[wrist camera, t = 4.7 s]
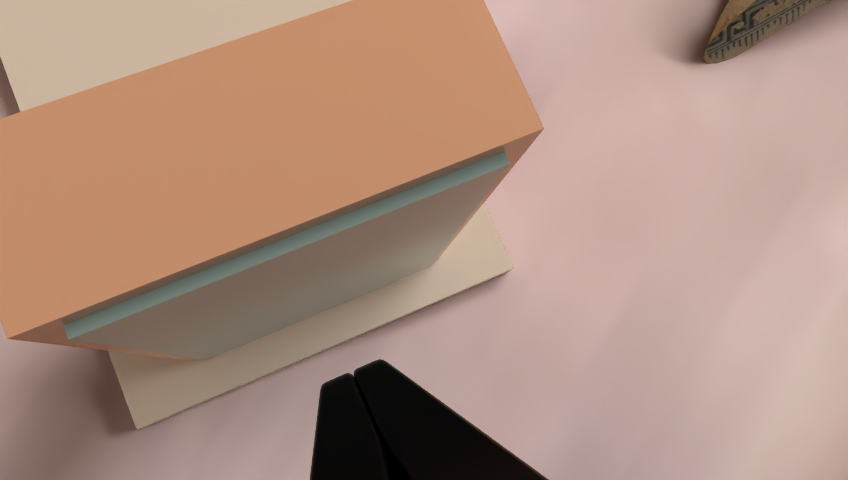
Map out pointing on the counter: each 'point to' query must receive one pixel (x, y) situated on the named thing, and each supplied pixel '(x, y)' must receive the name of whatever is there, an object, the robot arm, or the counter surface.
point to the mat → (166, 41)
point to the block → (255, 178)
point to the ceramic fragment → (752, 24)
